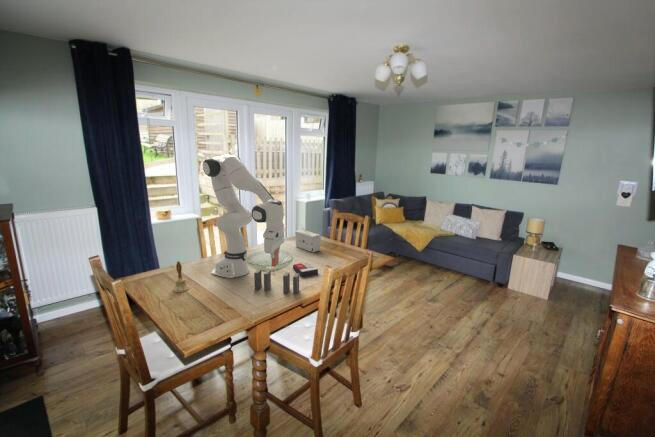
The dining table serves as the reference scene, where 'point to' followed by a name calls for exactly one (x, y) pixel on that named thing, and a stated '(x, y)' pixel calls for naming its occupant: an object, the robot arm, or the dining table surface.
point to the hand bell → (180, 280)
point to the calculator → (305, 269)
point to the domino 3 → (276, 258)
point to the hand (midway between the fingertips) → (275, 255)
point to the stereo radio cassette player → (308, 240)
